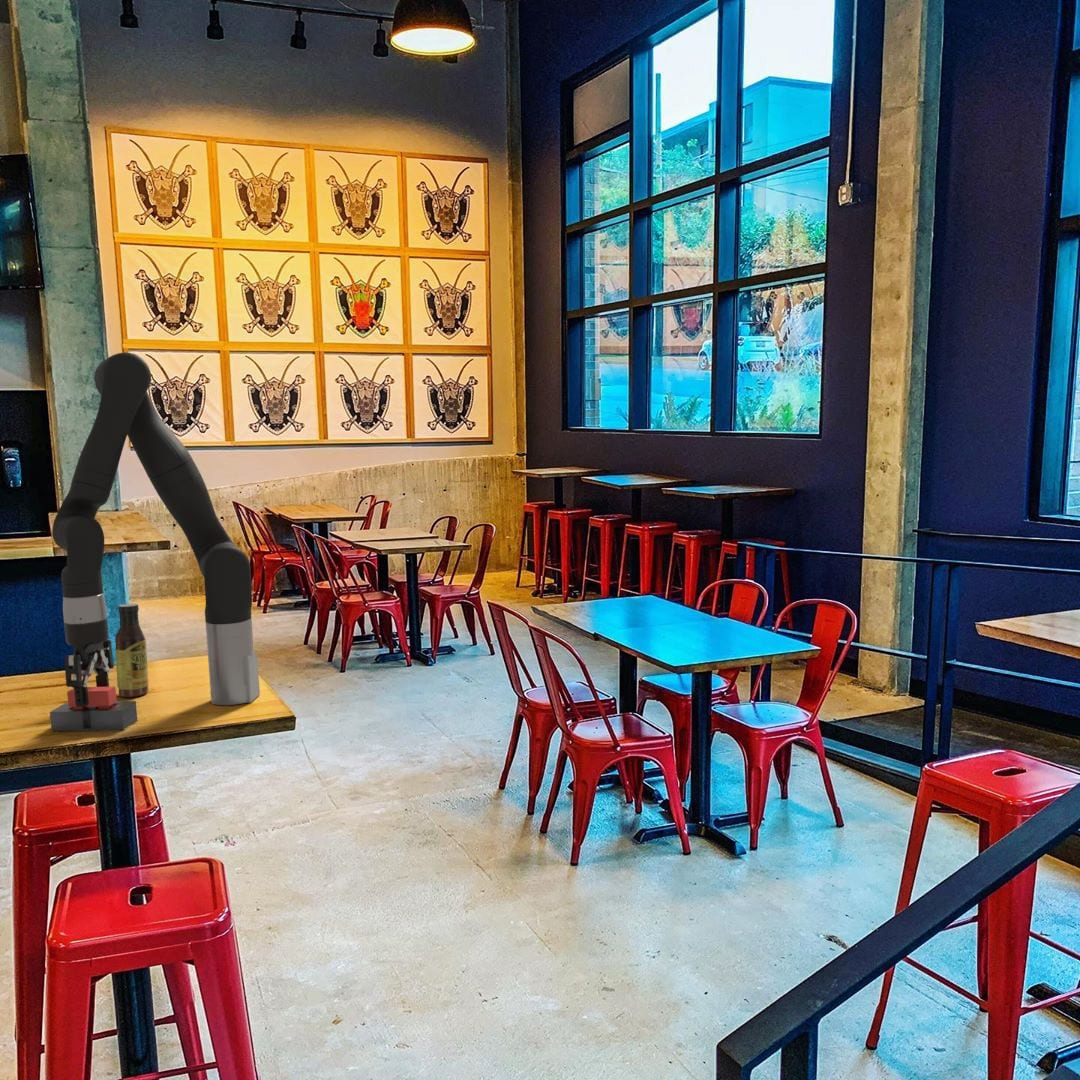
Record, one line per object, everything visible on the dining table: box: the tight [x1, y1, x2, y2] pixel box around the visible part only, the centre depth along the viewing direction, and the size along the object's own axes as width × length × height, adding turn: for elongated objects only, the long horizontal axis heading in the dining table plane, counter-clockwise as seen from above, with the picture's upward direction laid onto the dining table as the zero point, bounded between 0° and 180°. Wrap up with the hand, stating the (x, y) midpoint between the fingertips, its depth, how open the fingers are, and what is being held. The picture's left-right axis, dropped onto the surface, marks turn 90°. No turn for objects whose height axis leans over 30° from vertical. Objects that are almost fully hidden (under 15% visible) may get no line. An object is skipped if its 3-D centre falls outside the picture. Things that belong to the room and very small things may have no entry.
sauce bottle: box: [114, 603, 150, 698], centre depth 205 cm, size 6×6×20 cm
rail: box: [49, 700, 138, 732], centre depth 184 cm, size 14×6×4 cm, turn 89°
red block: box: [66, 686, 118, 709], centre depth 184 cm, size 8×3×7 cm, turn 89°
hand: (93, 699), depth 184 cm, fingers open, 8 cm apart
